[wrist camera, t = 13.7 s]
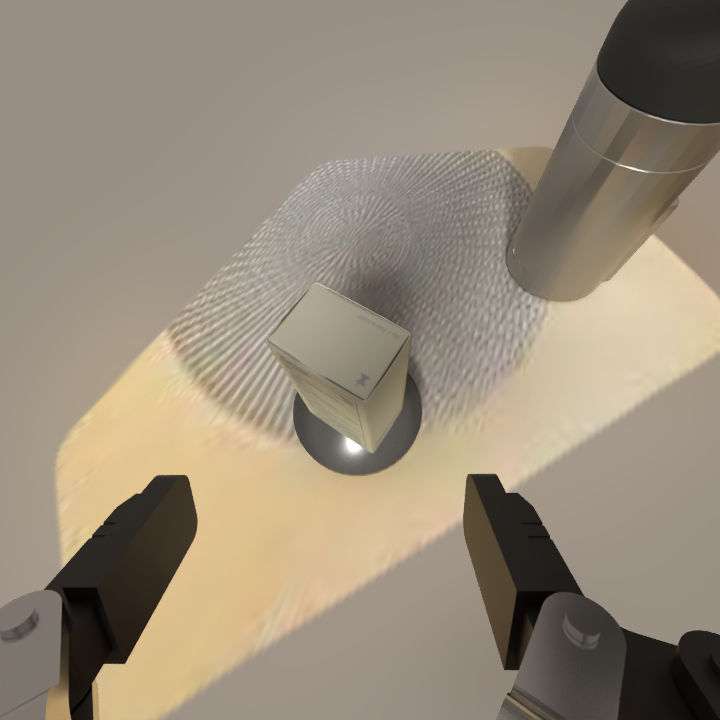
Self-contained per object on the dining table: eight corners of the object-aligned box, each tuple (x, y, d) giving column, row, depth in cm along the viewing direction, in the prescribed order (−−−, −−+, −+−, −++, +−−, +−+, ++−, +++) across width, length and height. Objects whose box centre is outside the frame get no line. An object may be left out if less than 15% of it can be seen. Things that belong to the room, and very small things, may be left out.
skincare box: (403, 409, 29) (420, 333, 18) (371, 457, 28) (368, 408, 17) (337, 368, 31) (316, 275, 20) (304, 411, 29) (261, 338, 18)
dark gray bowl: (403, 355, 34) (405, 340, 32) (431, 466, 30) (436, 460, 27) (294, 375, 34) (287, 361, 31) (307, 490, 30) (300, 486, 27)
